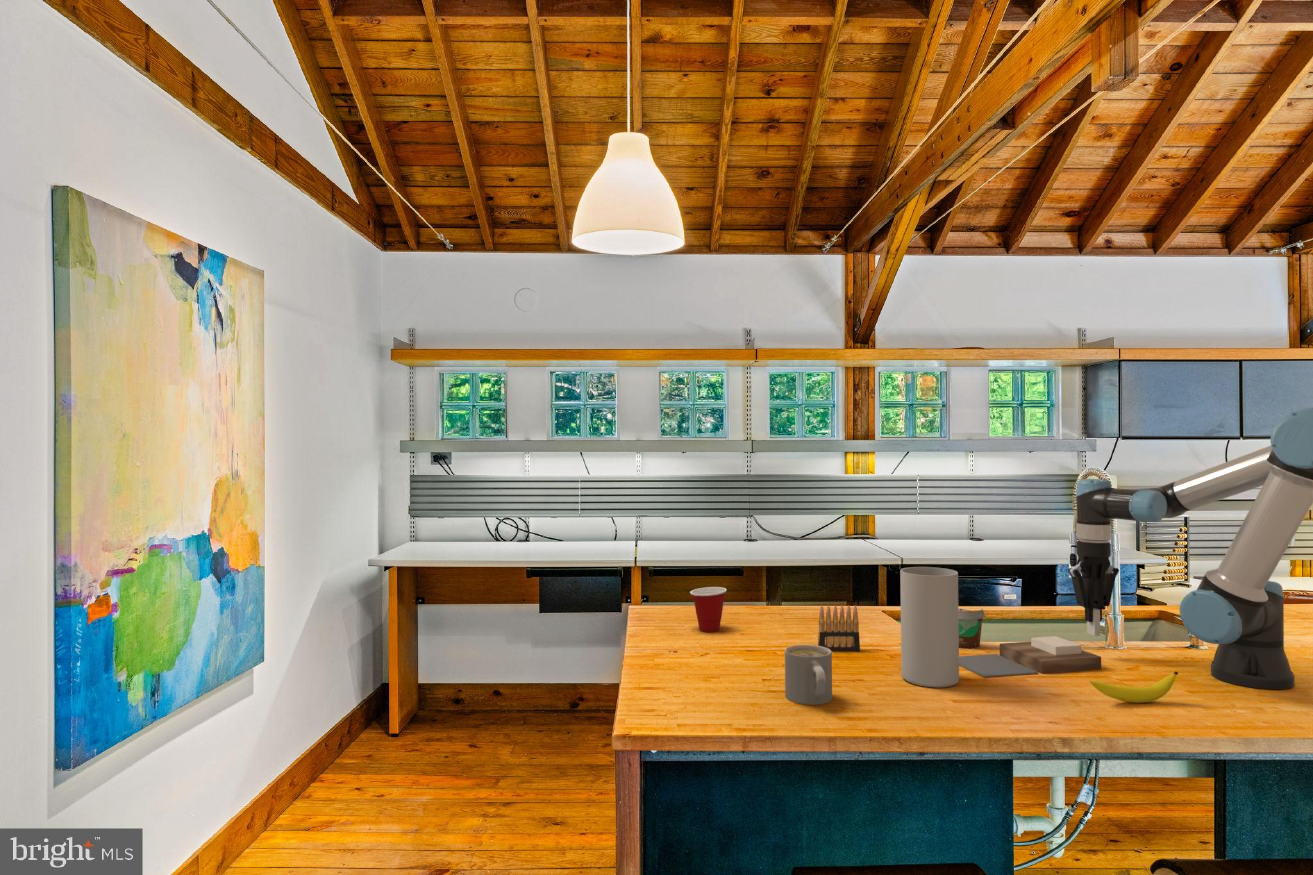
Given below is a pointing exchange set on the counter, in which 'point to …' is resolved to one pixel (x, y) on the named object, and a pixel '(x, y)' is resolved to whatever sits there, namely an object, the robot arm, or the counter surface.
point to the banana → (1136, 690)
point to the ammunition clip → (839, 630)
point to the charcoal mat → (993, 666)
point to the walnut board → (1048, 659)
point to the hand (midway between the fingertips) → (1093, 634)
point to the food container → (970, 628)
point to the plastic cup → (709, 607)
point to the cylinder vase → (929, 626)
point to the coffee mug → (808, 674)
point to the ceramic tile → (1056, 645)
